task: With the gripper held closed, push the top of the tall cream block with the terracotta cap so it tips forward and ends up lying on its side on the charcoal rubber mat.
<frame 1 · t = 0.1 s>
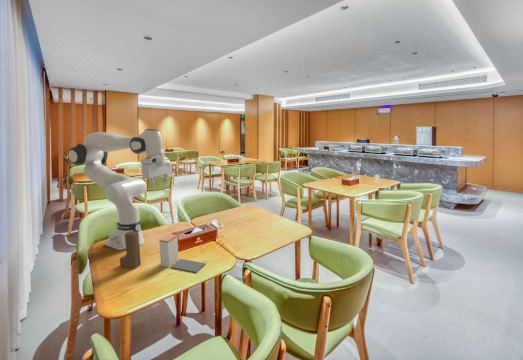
hand: (159, 183, 151), 39 cm above the table, tool pointing down, fingers open, 8 cm apart
wooden block: (130, 265, 140), on the table
cream block: (169, 262, 144), on the table
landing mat: (188, 266, 140), on the table
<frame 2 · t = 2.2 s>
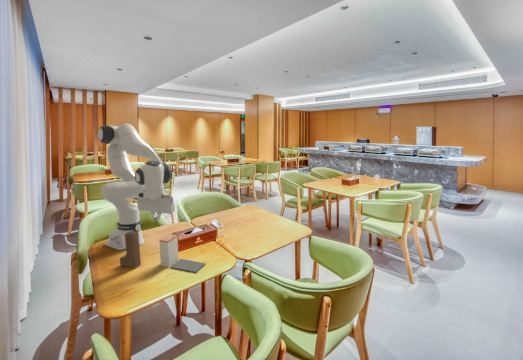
hand: (156, 219, 141), 23 cm above the table, tool pointing down, fingers closed
nothing on the table moved.
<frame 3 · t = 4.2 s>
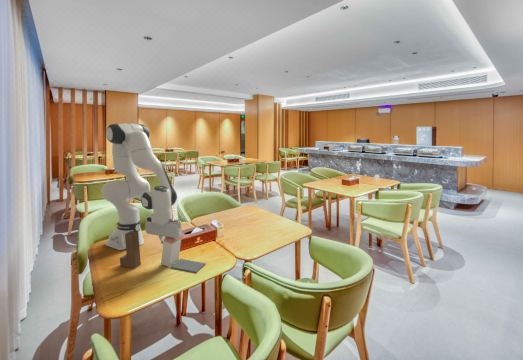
hand: (164, 243, 142), 10 cm above the table, tool pointing down, fingers closed
cream block: (169, 261, 143), on the table, tilted 11°
everything else where it was.
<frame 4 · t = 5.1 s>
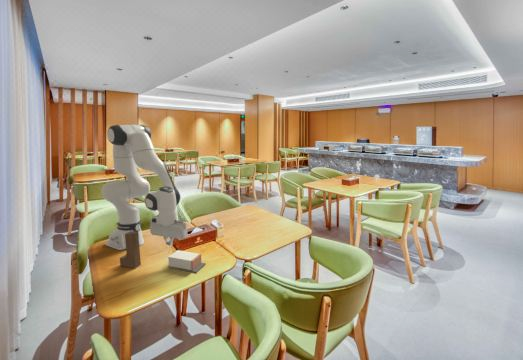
hand: (169, 244, 141), 10 cm above the table, tool pointing down, fingers closed
cream block: (173, 257, 142), point 3 cm above the table, tilted 90°, touching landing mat
everything else where it was.
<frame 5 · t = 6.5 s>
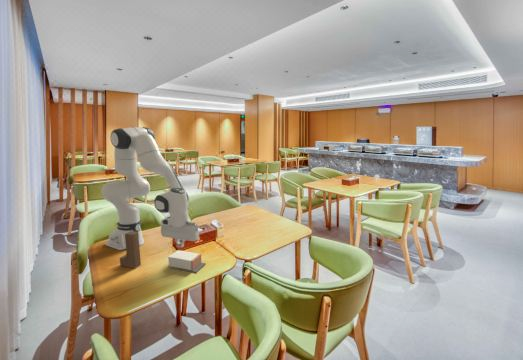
hand: (180, 246, 139), 10 cm above the table, tool pointing down, fingers closed
nothing on the table moved.
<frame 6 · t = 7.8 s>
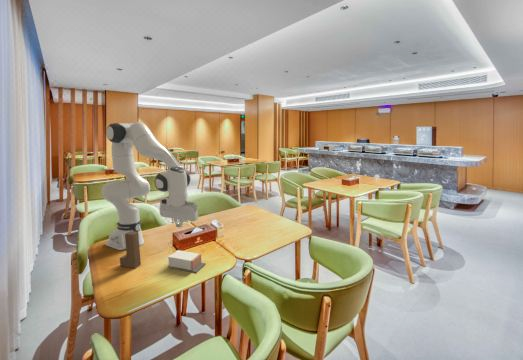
hand: (179, 226, 138), 21 cm above the table, tool pointing down, fingers closed
nothing on the table moved.
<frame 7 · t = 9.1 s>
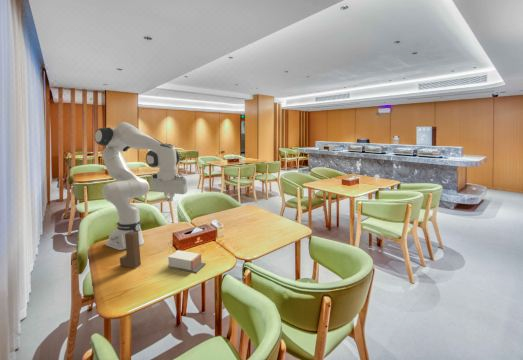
hand: (169, 200, 146), 31 cm above the table, tool pointing down, fingers closed
nothing on the table moved.
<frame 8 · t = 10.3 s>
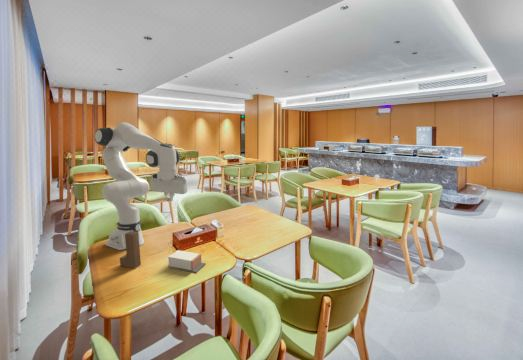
hand: (169, 200, 146), 31 cm above the table, tool pointing down, fingers closed
nothing on the table moved.
at the end: cream block tilted 90°; cream block touching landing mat; cream block inside the target area (1.2 cm from its centre), point 3.1 cm above the table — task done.
